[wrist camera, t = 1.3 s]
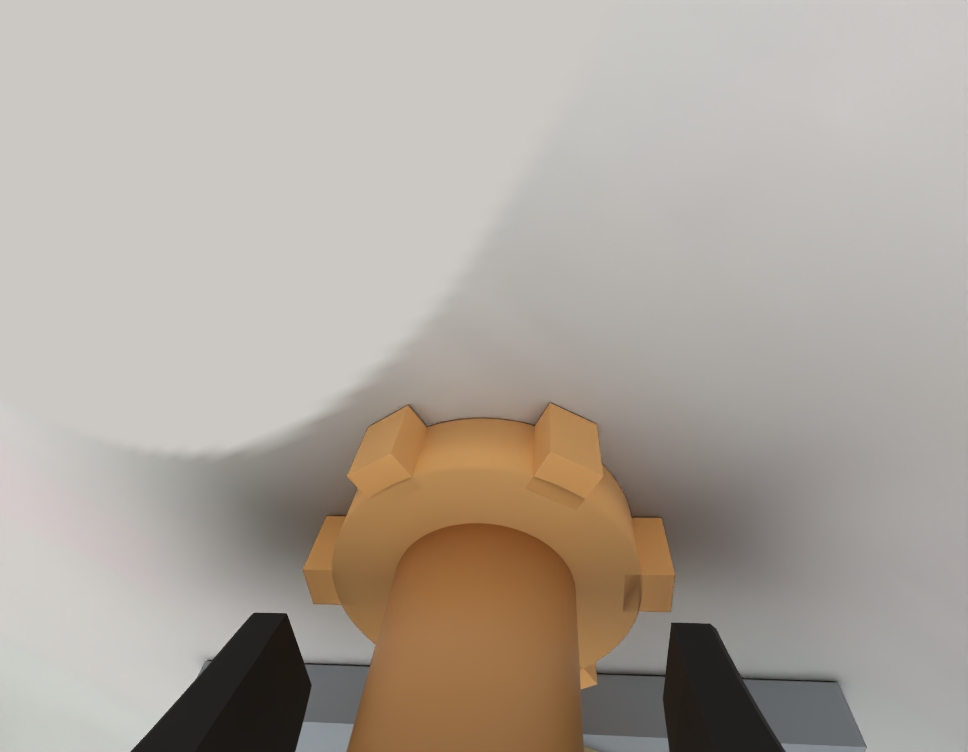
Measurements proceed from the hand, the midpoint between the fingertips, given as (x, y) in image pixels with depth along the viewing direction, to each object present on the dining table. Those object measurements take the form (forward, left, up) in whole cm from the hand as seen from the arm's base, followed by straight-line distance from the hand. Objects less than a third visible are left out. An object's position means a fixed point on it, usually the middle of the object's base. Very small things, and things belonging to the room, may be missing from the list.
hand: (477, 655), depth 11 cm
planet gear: (0, 0, -3) cm, 3 cm away
